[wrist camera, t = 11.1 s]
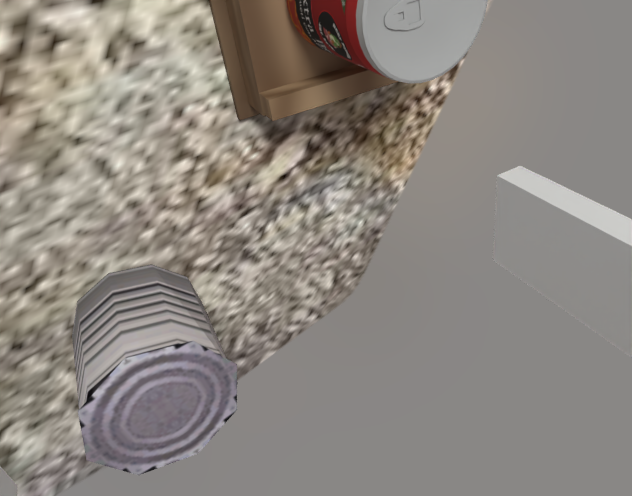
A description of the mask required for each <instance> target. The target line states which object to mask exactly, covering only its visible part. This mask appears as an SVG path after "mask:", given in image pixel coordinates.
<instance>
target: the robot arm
mask: <svg viewBox="0 0 632 496" xmlns="http://www.w3.org/2000/svg"><path fill="white" fill-rule="evenodd" d="M493 260H494V261H495V262H497V263H498V264H499V265H501V266H502V267H504V268H505V269H507V270H508V271H509V272H511V273H512V274H514V275H515V276H516V277H518V278H519V279H521V280H522V281H524V282H525V283H526V284H528V285H529V286H531V287H532V288H533V289H535V290H536V291H538V292H539V293H541V294H542V295H543V296H545V297H546V298H548V299H549V300H551V301H552V302H553V303H555V304H556V305H558V306H559V307H560V308H562V309H564V310H565V311H566V312H568V313H569V314H570V315H572V316H573V317H574V318H576V319H577V320H579V321H580V322H582V323H583V324H584V325H586V326H587V327H589V328H590V329H591V330H593V331H594V332H596V333H597V334H599V335H600V336H602V337H603V338H604V339H606V340H607V341H608V342H610V343H611V344H613V345H614V346H616V347H617V348H619V349H620V350H621V351H623V352H624V353H626V354H627V355H628V356H630V357H631V358H632V219H630V218H628V217H626V216H624V215H621V214H620V213H618V212H615V211H613V210H611V209H609V208H607V207H605V206H603V205H601V204H599V203H597V202H594V201H593V200H590V199H588V198H586V197H584V196H582V195H580V194H578V193H576V192H573V191H571V190H570V189H567V188H565V187H563V186H561V185H559V184H557V183H555V182H553V181H551V180H549V179H547V178H544V177H543V176H540V175H538V174H536V173H534V172H532V171H530V170H527V169H526V168H524V167H522V166H519V167H516V168H514V169H512V170H509V171H507V172H504V173H502V174H500V175H498V176H497V187H496V208H495V228H494V248H493ZM0 496H17V484H16V483H15V482H14V481H13V480H12V479H11V478H10V477H9V475H8V474H7V473H6V472H5V471H4V470H3V469H2V468H1V467H0Z"/></svg>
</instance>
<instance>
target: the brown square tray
mask: <svg viewBox="0 0 632 496" xmlns="http://www.w3.org/2000/svg"><path fill="white" fill-rule="evenodd" d="M209 3H210V7H211V11H212V15H213V19H214V23H215V27H216V31H217V36H218V40H219V44H220V48H221V52H222V56H223V60H224V64H225V68H226V72H227V76H228V80H229V84H230V88H231V93H232V97H233V101H234V105H235V109H236V113H237V117H238V119H239V120H242V119H245V118H249V117H252V116H255V115H258V114H261V115H263V116H267V117H268V118H270V119H271V120H272V121H274V120H278V119H281V118H284V117H287V116H290V115H294V114H297V113H300V112H303V111H306V110H310V109H313V108H316V107H319V106H322V105H326V104H329V103H332V102H335V101H338V100H342V99H345V98H348V97H351V96H354V95H358V94H361V93H364V92H367V91H370V90H374V89H377V88H380V87H383V86H386V85H389V84H393V83H396V82H399V81H395V80H391V79H389V78H387V77H384V76H381V75H379V74H377V73H374V72H372V71H370V70H367V69H365V68H363V67H361V66H358V65H356V64H354V63H352V62H349V61H347V60H345V59H342V58H340V57H338V56H336V55H333V54H331V53H329V52H327V51H324V50H322V49H320V48H318V47H316V46H314V45H312V44H311V43H309V42H308V41H307V40H305V39H304V38H303V37H302V35H301V34H300V33H299V32H298V30H297V29H296V27H295V25H294V23H293V21H292V19H291V17H290V14H289V10H288V7H287V0H209Z"/></svg>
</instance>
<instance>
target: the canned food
mask: <svg viewBox="0 0 632 496" xmlns="http://www.w3.org/2000/svg"><path fill="white" fill-rule="evenodd" d="M287 7H288V10H289V14H290V17H291V19H292V21H293V23H294V25H295V27H296V29H297V30H298V32H299V33H300V34H301V35H302V37H303V38H304V39H305V40H307V41H308V42H309V43H311V44H312V45H314V46H316V47H318V48H320V49H322V50H324V51H327V52H329V53H331V54H333V55H336V56H338V57H340V58H342V59H345V60H347V61H349V62H352V63H354V64H356V65H358V66H361V67H363V68H365V69H367V70H370V71H372V72H374V73H377V74H379V75H381V76H384V77H387V78H389V79H391V80H395V81H400V82H405V83H422V82H426V81H430V80H433V79H435V78H437V77H439V76H441V75H443V74H444V73H446V72H447V71H449V70H450V69H451V68H453V67H454V66H455V65H456V64H457V63H458V62H459V61H460V60H461V59H462V58H463V57H464V55H465V54H466V53H467V51H468V50H469V49H470V47H471V46H472V44H473V42H474V41H475V39H476V37H477V35H478V33H479V31H480V28H481V25H482V23H483V20H484V16H485V12H486V7H487V0H287Z"/></svg>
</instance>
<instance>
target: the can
mask: <svg viewBox="0 0 632 496" xmlns="http://www.w3.org/2000/svg"><path fill="white" fill-rule="evenodd" d="M72 337H73V347H74V358H75V369H76V380H77V391H78V402H79V410H78V415H79V420H80V426H81V431H82V437H83V442H84V448H85V453H86V458H87V461H91V462H95V463H98V464H102V465H105V466H109V467H112V468H116V469H119V470H123V471H126V472H130V473H133V474H137V475H140V474H143V473H146V472H148V471H151V470H154V469H157V468H159V467H162V466H165V465H168V464H170V463H173V462H176V461H179V460H181V459H184V458H187V457H190V456H192V455H195V454H198V453H199V452H200V451H201V450H202V448H203V447H204V446H205V445H206V444H207V443H208V442H209V441H210V439H211V438H212V437H213V436H214V435H215V434H216V433H217V432H218V430H219V429H220V428H221V427H222V426H223V425H224V424H225V423H226V421H227V420H228V419H229V418H230V417H231V416H232V415H233V414H234V412H235V411H236V410H237V364H235V363H233V362H231V361H230V360H228V359H227V358H226V356H225V353H224V351H223V349H222V347H221V344H220V342H219V340H218V338H217V335H216V333H215V331H214V329H213V326H212V324H211V322H210V320H209V317H208V315H207V313H206V311H205V309H204V306H203V304H202V302H201V300H200V299H199V297H198V295H197V294H196V292H195V290H194V288H193V287H192V285H191V283H190V281H189V280H188V278H187V277H186V276H183V275H180V274H177V273H174V272H171V271H169V270H166V269H163V268H160V267H157V266H154V265H152V264H151V265H146V266H142V267H137V268H132V269H127V270H122V271H118V272H113V273H108V274H107V275H106V276H105V277H104V278H103V279H102V280H101V281H99V282H98V283H97V284H96V285H95V286H94V287H93V288H92V289H91V290H89V291H88V292H87V293H86V294H85V295H84V296H83V297H82V298H81V299H79V300H78V301H77V308H76V315H75V321H74V328H73V335H72Z"/></svg>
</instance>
